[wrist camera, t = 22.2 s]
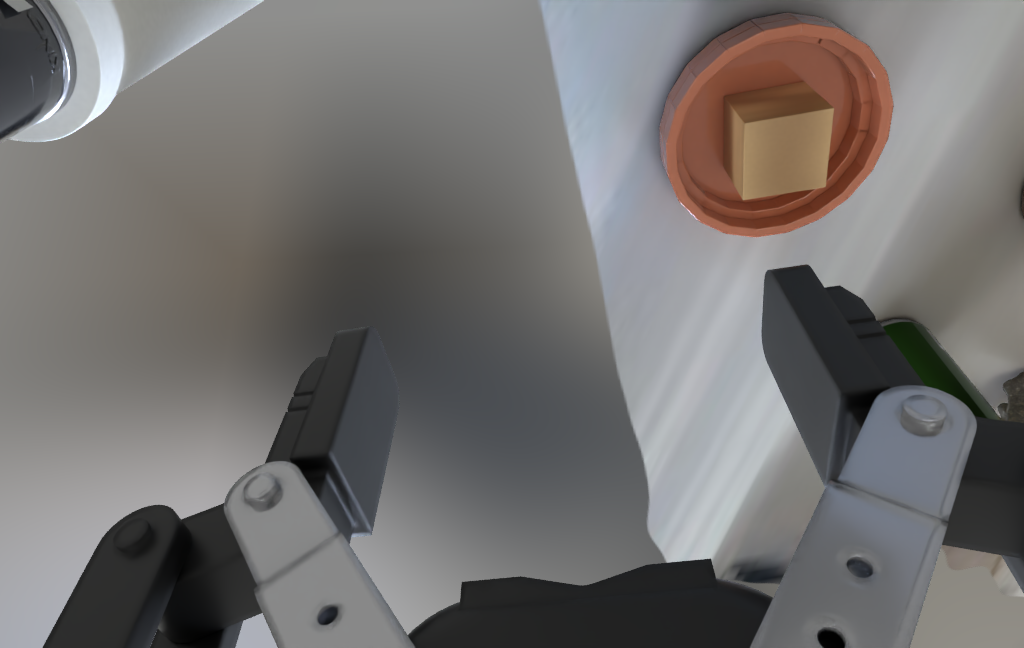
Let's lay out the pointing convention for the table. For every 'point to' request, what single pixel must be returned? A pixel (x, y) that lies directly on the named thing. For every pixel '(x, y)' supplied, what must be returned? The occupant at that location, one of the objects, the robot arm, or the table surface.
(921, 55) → the table surface
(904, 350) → the beer can
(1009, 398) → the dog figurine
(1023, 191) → the pillar candle
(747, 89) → the plate
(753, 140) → the block
